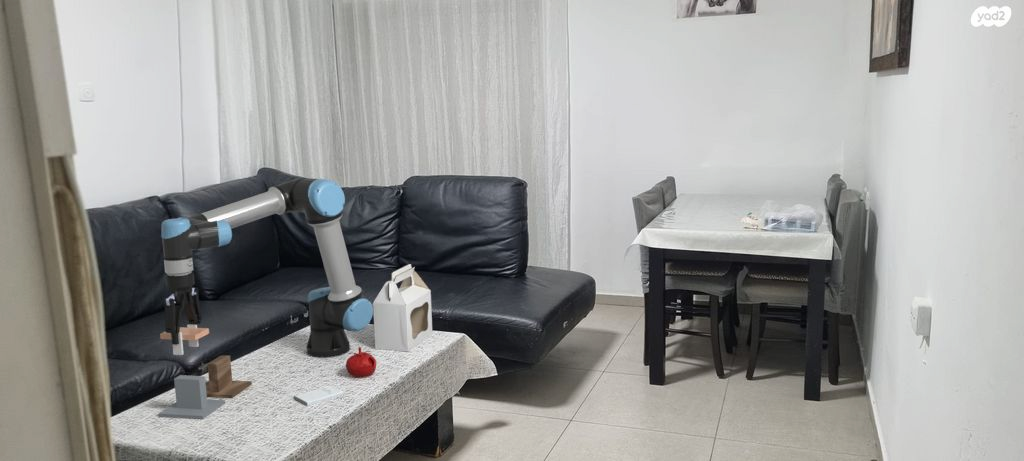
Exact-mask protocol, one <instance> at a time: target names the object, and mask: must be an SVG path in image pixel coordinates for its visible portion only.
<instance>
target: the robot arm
mask: <svg viewBox="0 0 1024 461" xmlns="http://www.w3.org/2000/svg"><path fill="white" fill-rule="evenodd" d="M345 202H346V197H345V193H344V191H343V189H342V187H341V186H340V184H338V183H336V182H335V181H333V180H329V179H326V178H309V177H298V178H295V179H291V180H289V181H286V182H282V183H279V184H277V185H274V186H271V187H269V188H268V190H267V191H266V192H262V193H258V194H256V195H254V196H251V197H247V198H244V199H241V200H238V201H235V202H232V203H229V204H226V205H223V206H220V207H216V208H214V209H211V210H208V211H205V212H202V213H199V214H195V215H192V216H188V217H187V216H181V217H177V218H169V219H165V220H163V221H162V223H161V237H160V238H161V240H162V252H163V262H164V263H163V265H164V273H166V275H165V286H166V288H168V289H169V290H170V292H169V296H168V297H165V298H164V299H163V304H164V322H165V323H164V328H165V330H164V332H166V333H171V338H172V339H171V343H172V353H173V356H183V355H184V342H183V340H182V332H179V331H180V327H181V321H182V314H183V310H184V313H185V316H186V319H187V321H188V323H189V324H187V325H186V328H198V325H201V323H202V311H201V305H200V299H199V288H198V287H193V286H194V285H195V284H196V282H195V273H194V272H193V271H194V262H193V251H197V250H202V249H209V248H215V247H216V248H220V247H223V246H227V245H229V244H230V243H231V240H232V239H233V238H232V237H233V232H232V229H234V228H235V229H236V228H238V227H240V226H243V225H245V224H248V223H252V222H255V221H258V220H260V219H264V218H266V217H269V216H272V215H275V214H276V215H279V216H282V215H283V214H288V213H304V215H305V219H306V223H307V224H308V225H309V226H310V227H312V228H313V231H314V234H315V238H316V241H317V246H318V249H319V252H320V256H321V259H322V263H323V268H324V271H325V274H326V278H327V282H328V286H327V287H326V286H325V287H320V288H315V289H313V290H311V291H309V293H308V295H307V297H308V300H307V303H308V314H309V327H310V328H309V329H310V332H309V335H308V339H307V340H308V341H307V344H306V354H307V355H308V356H311V357H315V358H331V357H332V358H333V357H338V356H341V355H344V354H347V353H348V352H350V350H351V347H350V345H351V343H350V340H349V338H348V335H347V333H346V331H347V332H353V333H355V332H360V331H363V330H364V329H366V328H367V327H368V326H369V324H370V323H371V320H372V318H373V317H374V315H373V303H371V301H369V300H368V299H367V298H365V297H364V293H363V289H362V288H361V287H360V286H359V285H356V281H355V277H354V273H353V269H352V266H351V262H350V258H349V253H348V250H347V247H346V242H345V238H344V235H343V232H342V231H343V230H342V227H341V223H340V220H341V218H342V217H343V210H344V205H345ZM187 341H188V347H194V348H197V347H199V345H200V344H199V339H197V340H187Z"/></svg>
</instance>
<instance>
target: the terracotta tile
mask: <svg viewBox="0 0 1024 461" xmlns="http://www.w3.org/2000/svg"><path fill="white" fill-rule="evenodd" d="M179 332H182V341H188V340H197V339H198V340H199V339H201V338H203V337H205V336H207V335H209V334H210V329H209V328H207V327H204V328H203V327H197V328H187V326H186V327H183V326H180V331H179ZM159 336H160V339H161V340H172V338H171V333H166V332H165V331H163V332H162V333H161V332H160V334H159Z"/></svg>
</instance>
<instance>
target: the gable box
mask: <svg viewBox="0 0 1024 461" xmlns="http://www.w3.org/2000/svg"><path fill="white" fill-rule="evenodd" d="M415 267H416V266H413V267H412V264H411V263H408V264H405V265H404V266H402V267H400V268H398V269H395V270H394V271H391V273H390V280H388V281H386V282H385V283H384V285H383V286H382V288H381V290H380V291H379V293H378V294H377V296H376V297H375V299H374V300H373V302H372V306H373V330H374V333H373V334H374V348H375V350H380V349H383V350H382V351H392V350H395V351H394V352H404V351H405V352H406V353H409V352H410V351H412V350H413V349H414V348H415V347H417V346H419V345H420V344H421V343H422V342H424V341H425V340H426V339H428V338H429V337H431V336H432V335H433V317H432V316H433V315H432V294H431V293H432V292H431V289H430V287H429V286H428V285H427V284H426V283H425V282H424V280H423V279H422V277H421V276H420V275H419V274H418V272H417V271H415ZM399 282H401V284H400V286H399V288H398V285H397V284H398V283H399Z"/></svg>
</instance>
